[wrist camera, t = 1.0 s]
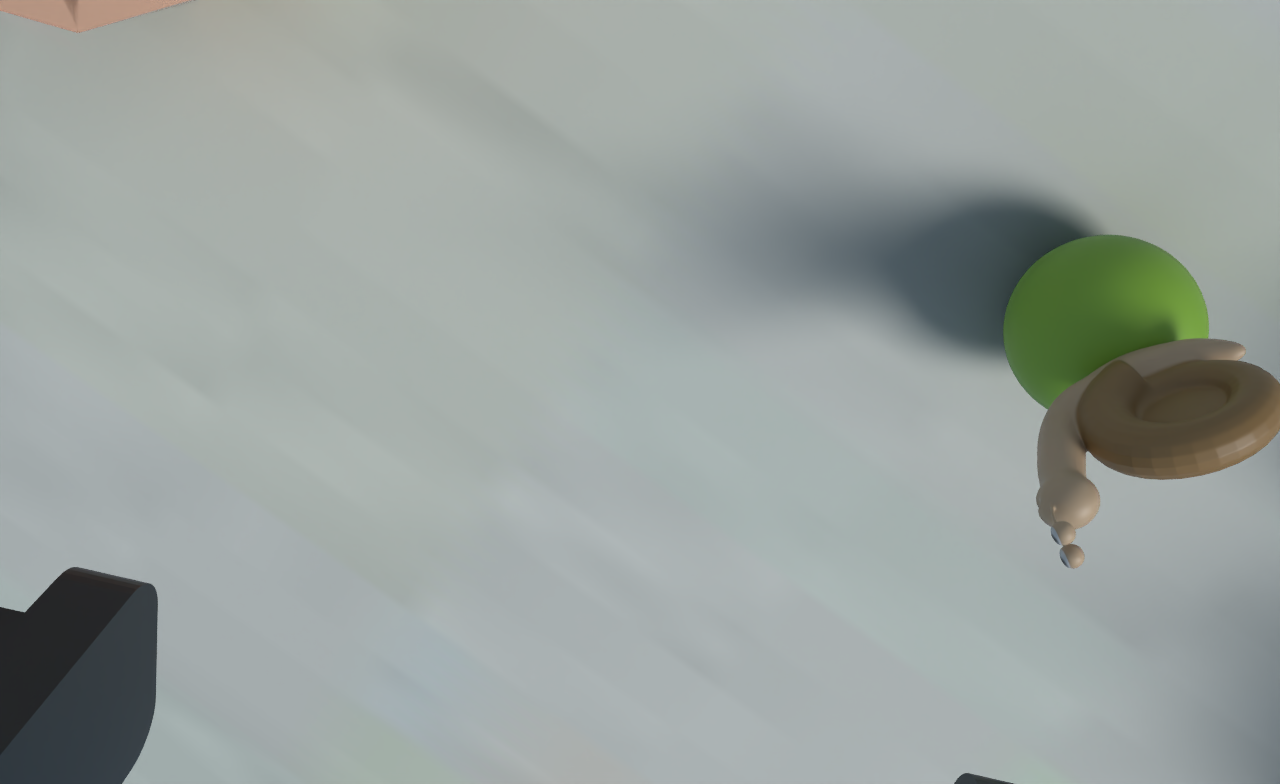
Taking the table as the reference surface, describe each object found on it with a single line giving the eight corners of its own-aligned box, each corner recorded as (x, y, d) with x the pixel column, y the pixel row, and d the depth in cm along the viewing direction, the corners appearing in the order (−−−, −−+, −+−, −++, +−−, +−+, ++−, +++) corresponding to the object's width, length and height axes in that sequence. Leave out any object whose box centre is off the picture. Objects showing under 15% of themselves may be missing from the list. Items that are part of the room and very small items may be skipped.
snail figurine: (931, 267, 34) (1019, 457, 24) (1141, 181, 33) (1338, 343, 22) (988, 411, 36) (1093, 646, 26) (1189, 337, 35) (1391, 556, 24)
